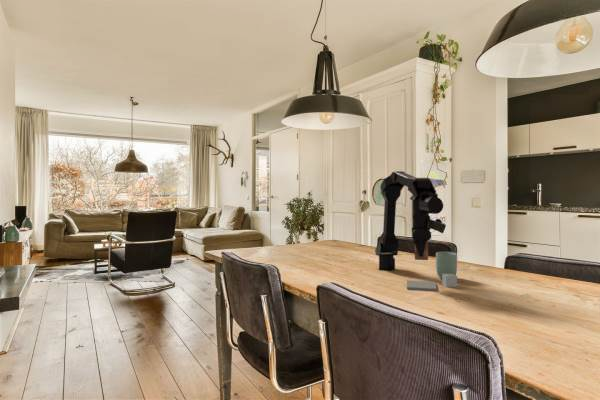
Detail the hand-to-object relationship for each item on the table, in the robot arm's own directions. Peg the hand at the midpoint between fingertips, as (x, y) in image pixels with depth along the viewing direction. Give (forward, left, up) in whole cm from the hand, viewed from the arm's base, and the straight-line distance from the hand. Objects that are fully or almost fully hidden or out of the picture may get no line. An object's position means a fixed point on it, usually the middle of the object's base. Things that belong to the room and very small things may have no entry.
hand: (421, 255), depth 132 cm
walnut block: (0, 0, -1) cm, 1 cm away
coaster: (0, 0, -12) cm, 12 cm away
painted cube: (+10, +4, -12) cm, 16 cm away
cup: (+10, +15, -12) cm, 21 cm away
